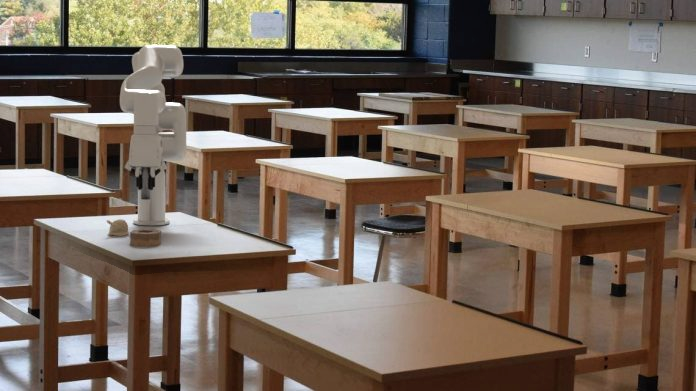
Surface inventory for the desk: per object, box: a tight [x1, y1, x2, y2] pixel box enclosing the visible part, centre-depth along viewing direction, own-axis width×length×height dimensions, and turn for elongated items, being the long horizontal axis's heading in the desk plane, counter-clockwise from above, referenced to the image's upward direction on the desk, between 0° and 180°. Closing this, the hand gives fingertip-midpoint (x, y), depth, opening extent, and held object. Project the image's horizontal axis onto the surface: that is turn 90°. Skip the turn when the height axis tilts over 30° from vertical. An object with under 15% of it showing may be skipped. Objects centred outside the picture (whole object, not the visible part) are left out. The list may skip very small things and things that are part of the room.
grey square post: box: [141, 167, 151, 200], centre depth 366 cm, size 3×3×10 cm
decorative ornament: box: [106, 218, 130, 237], centre depth 384 cm, size 4×8×5 cm, turn 126°
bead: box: [129, 228, 162, 248], centre depth 369 cm, size 9×9×4 cm
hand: (145, 189), depth 366 cm, fingers closed on grey square post, 3 cm apart
